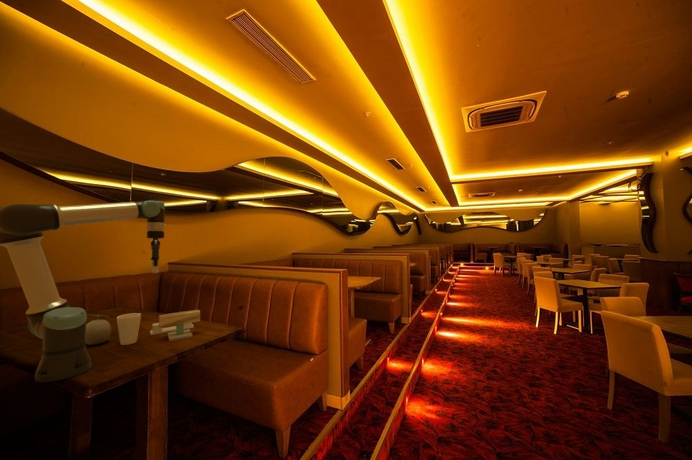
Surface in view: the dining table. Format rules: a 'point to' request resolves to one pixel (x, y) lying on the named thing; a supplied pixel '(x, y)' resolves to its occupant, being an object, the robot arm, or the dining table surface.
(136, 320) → the foam cup
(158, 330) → the beige bracket
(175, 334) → the fulcrum
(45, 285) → the robot arm
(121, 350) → the dining table surface
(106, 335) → the fruit
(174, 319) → the bar
